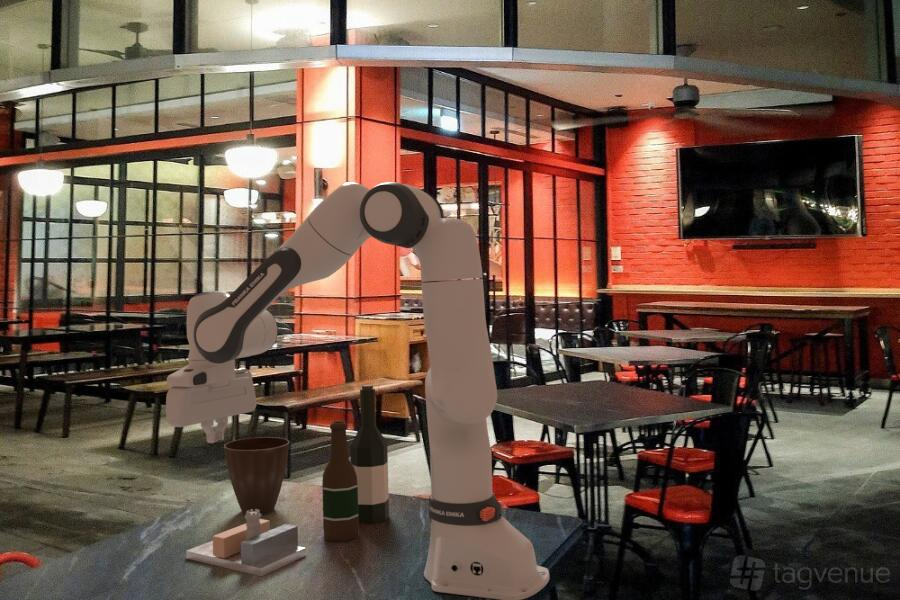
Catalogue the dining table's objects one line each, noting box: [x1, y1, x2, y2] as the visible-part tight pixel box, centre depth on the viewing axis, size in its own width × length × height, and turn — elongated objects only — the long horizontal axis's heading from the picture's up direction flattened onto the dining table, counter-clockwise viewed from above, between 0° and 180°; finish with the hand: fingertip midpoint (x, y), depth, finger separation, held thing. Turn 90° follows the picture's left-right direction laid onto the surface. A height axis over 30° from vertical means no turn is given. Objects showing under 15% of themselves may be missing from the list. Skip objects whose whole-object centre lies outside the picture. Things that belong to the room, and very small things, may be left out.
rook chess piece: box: [244, 509, 263, 541], centre depth 144 cm, size 4×4×8 cm
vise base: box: [185, 523, 307, 577], centre depth 146 cm, size 20×12×6 cm, turn 59°
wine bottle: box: [349, 384, 390, 525], centre depth 169 cm, size 8×8×30 cm
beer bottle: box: [321, 420, 360, 543], centre depth 157 cm, size 8×8×24 cm
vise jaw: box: [212, 518, 271, 558], centre depth 147 cm, size 3×12×4 cm, turn 149°
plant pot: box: [223, 436, 290, 515], centre depth 177 cm, size 15×15×16 cm
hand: (215, 441), depth 150 cm, fingers closed
